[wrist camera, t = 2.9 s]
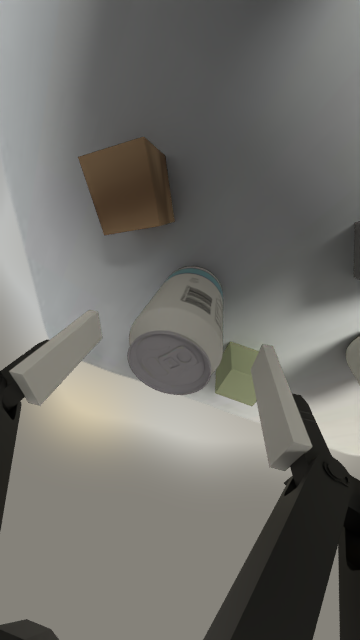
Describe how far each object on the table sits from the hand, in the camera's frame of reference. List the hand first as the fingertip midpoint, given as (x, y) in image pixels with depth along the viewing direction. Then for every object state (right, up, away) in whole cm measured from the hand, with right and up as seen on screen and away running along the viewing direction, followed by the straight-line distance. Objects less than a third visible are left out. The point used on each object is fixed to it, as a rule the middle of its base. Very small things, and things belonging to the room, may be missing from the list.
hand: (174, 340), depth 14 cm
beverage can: (+2, +5, +7) cm, 9 cm away
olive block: (+9, -4, +11) cm, 15 cm away
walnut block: (-3, +14, +3) cm, 14 cm away
